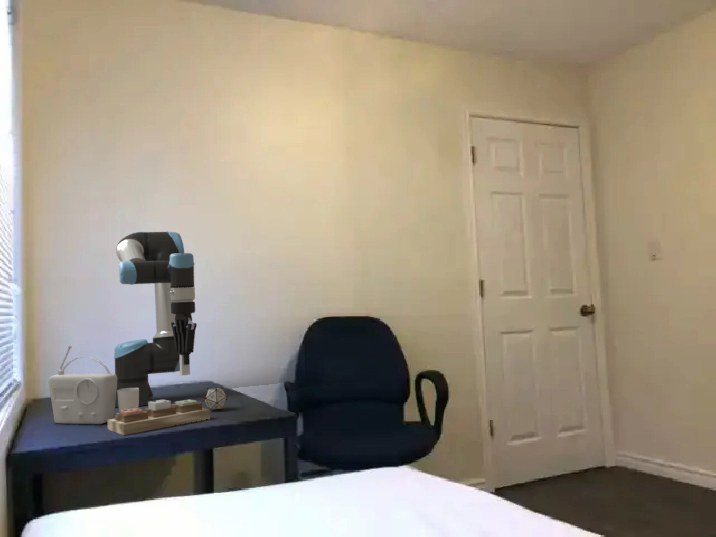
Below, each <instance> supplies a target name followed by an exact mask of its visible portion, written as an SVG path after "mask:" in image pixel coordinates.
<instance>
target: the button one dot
mask: <svg viewBox="0 0 716 537" xmlns="http://www.w3.org/2000/svg"><path fill="white" fill-rule="evenodd" d="M197 402H198V400H194V399H184V400H183V399H182V400H178V401H174V403H175V404H176V405H180V406H185V405H191V404H197Z"/></svg>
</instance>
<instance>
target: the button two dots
mask: <svg viewBox="0 0 716 537" xmlns="http://www.w3.org/2000/svg"><path fill="white" fill-rule="evenodd" d="M171 404H172V403H171V400H167V399H157V400H154V401H151V402H148V407H147V408H148V409H151V410H161V409H167V408H171Z"/></svg>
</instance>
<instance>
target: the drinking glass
mask: <svg viewBox="0 0 716 537" xmlns="http://www.w3.org/2000/svg"><path fill="white" fill-rule="evenodd" d="M117 394H118V407H117V408H118V413H119V412H120V410H127V409H133V408H138V409H140V408H139V407H140V406H139V388H125V389H119V390H117Z"/></svg>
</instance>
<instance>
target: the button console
mask: <svg viewBox="0 0 716 537" xmlns="http://www.w3.org/2000/svg"><path fill="white" fill-rule="evenodd" d="M206 419H208V420H210V419H211V410H209V408H204V407H203V402H199V401H197V404H191V405H185V406H180V405H176V404H175V402H174V403H171V408H167V409H161V410H151V409H148V407H144V408H143V413H136V414H130V415H124V414H120V412H119V411H118V412H114V418H113V419H108V420H107V422H106V423H107V430H109V431H111V432H114V433H117V434H119V435H122V436H127V435H132V434H136V433H143V432H149V431H153V430H158V429H164V428H170V427H175V425H176V426H179V425H180V424H181V425H186V424H190V423H191V422H192V423H197V422H202V421H206ZM201 420H202V421H201ZM196 421H197V422H196ZM185 423H186V424H185ZM181 425H180V426H181Z"/></svg>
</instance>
